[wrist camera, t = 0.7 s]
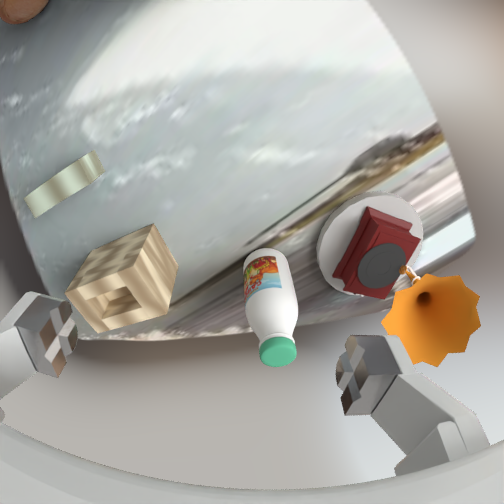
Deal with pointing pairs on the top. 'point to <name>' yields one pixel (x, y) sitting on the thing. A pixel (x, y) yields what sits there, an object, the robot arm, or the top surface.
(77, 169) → the rail end
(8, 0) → the onion
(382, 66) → the top surface
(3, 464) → the robot arm
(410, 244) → the gramophone
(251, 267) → the milk bottle
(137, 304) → the wooden square frame
